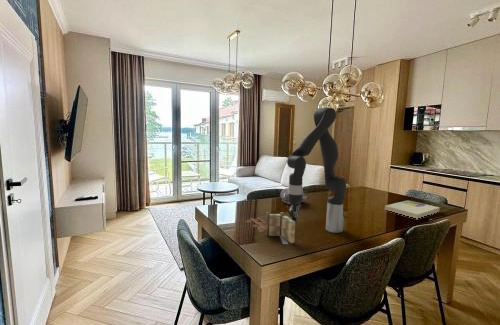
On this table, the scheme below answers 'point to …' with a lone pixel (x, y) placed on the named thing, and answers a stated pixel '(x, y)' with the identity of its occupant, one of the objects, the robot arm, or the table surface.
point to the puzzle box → (412, 209)
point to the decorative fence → (258, 222)
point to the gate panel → (288, 229)
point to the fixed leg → (273, 223)
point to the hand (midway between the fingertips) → (294, 223)
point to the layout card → (281, 239)
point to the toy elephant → (285, 196)
